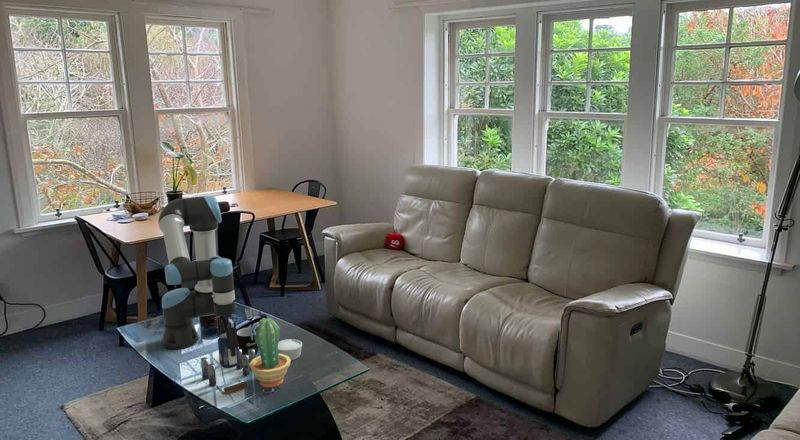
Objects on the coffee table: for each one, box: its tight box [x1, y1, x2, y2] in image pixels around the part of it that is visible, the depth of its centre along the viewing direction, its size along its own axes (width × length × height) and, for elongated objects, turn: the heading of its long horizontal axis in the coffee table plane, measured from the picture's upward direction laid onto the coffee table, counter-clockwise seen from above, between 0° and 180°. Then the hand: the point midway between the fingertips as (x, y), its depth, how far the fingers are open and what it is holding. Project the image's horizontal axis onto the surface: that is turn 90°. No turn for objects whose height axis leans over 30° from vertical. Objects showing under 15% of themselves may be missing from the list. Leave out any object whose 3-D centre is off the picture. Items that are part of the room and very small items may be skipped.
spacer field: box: [200, 347, 256, 387], centre depth 238 cm, size 13×20×8 cm, turn 126°
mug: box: [236, 326, 259, 356], centre depth 255 cm, size 12×9×10 cm
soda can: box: [217, 332, 239, 369], centre depth 225 cm, size 7×7×12 cm
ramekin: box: [278, 338, 303, 361], centre depth 253 cm, size 11×11×5 cm
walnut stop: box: [223, 380, 249, 396], centre depth 225 cm, size 1×8×2 cm, turn 125°
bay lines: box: [216, 384, 225, 395], centre depth 229 cm, size 7×9×1 cm
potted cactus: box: [249, 317, 292, 388], centre depth 229 cm, size 15×15×25 cm
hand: (229, 360), depth 226 cm, fingers closed on soda can, 7 cm apart
